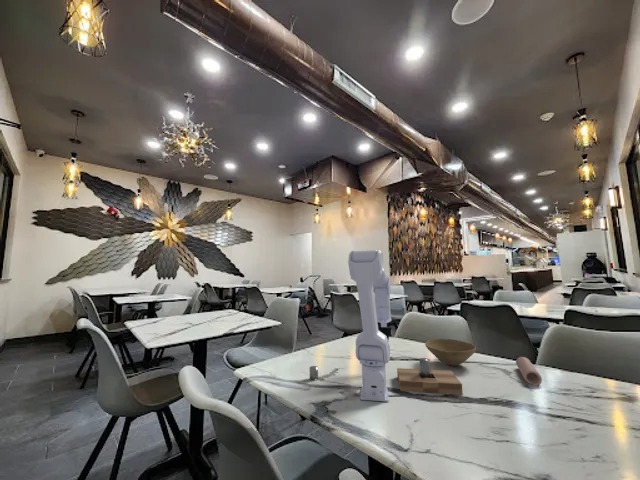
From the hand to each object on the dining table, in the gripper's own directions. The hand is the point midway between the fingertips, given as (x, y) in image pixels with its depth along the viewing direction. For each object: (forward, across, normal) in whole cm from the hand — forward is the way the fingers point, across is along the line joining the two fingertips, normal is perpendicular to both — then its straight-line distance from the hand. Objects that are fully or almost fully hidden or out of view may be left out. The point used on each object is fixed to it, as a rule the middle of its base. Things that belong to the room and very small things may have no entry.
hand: (384, 343), depth 105 cm
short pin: (+10, +10, -25) cm, 29 cm away
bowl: (+11, -13, +26) cm, 31 cm away
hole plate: (+10, +10, +13) cm, 19 cm away
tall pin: (+10, +10, +13) cm, 19 cm away
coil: (+11, -3, +49) cm, 50 cm away
